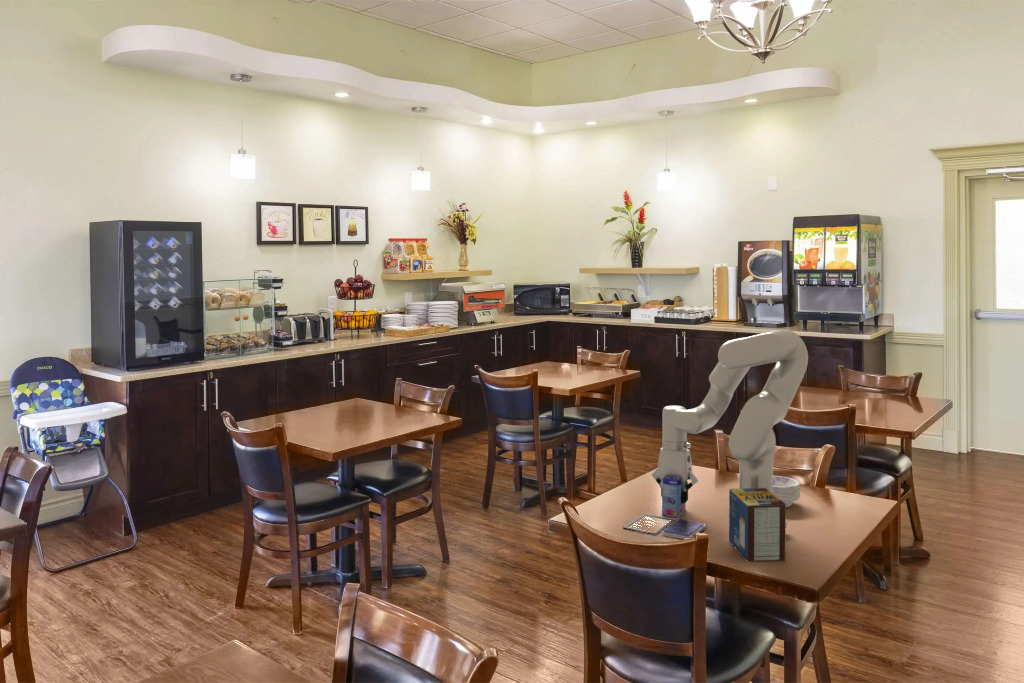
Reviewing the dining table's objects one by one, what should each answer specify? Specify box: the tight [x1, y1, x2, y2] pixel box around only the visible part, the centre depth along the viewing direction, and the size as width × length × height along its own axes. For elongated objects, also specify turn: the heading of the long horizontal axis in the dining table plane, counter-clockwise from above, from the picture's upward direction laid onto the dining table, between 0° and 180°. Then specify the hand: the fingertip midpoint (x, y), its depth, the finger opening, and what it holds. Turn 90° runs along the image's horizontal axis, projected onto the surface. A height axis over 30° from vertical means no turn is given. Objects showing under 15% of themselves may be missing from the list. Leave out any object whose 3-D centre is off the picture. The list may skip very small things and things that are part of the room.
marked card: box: [622, 513, 677, 535], centre depth 232 cm, size 11×15×1 cm
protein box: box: [728, 488, 787, 562], centre depth 209 cm, size 10×15×16 cm
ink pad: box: [661, 518, 707, 540], centre depth 226 cm, size 9×13×2 cm
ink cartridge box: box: [661, 476, 687, 518], centre depth 243 cm, size 10×6×14 cm, turn 152°
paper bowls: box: [773, 475, 801, 508], centre depth 250 cm, size 15×15×8 cm
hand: (674, 500), depth 243 cm, fingers closed on ink cartridge box, 5 cm apart
